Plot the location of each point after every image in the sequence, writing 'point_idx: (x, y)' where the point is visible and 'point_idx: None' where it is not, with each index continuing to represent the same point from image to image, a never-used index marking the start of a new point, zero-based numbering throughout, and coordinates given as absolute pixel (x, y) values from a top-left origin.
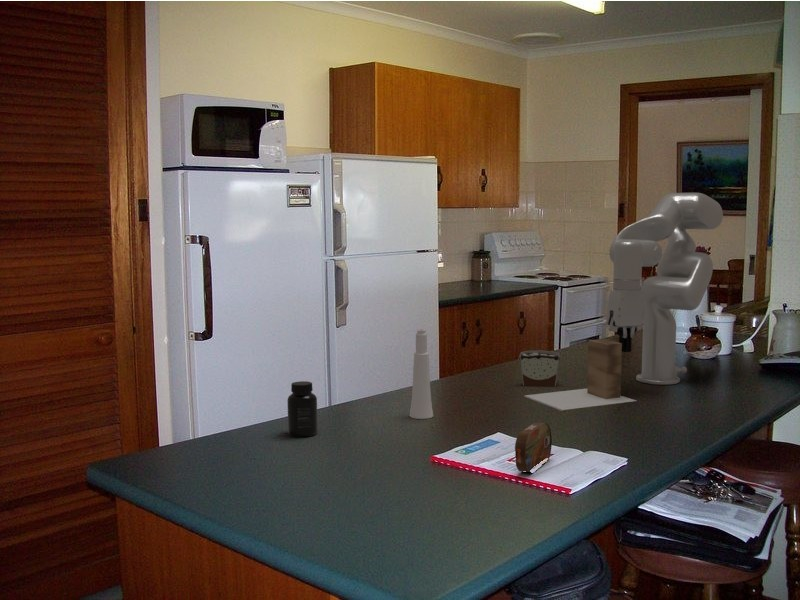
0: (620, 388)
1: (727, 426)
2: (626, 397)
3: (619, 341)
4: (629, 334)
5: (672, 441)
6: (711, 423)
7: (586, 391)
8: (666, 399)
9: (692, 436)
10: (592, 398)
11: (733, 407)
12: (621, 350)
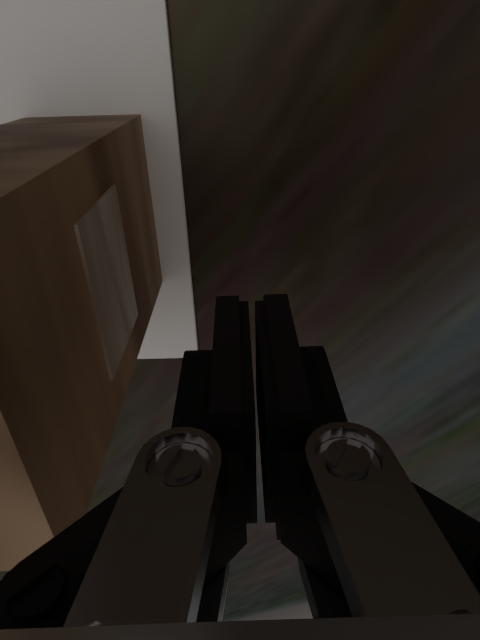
0: (154, 304)
1: (255, 599)
2: (191, 293)
3: (175, 407)
4: (301, 565)
5: None
6: (239, 578)
7: (39, 66)
8: (357, 358)
9: None
10: None
11: (459, 505)
12: (89, 496)
